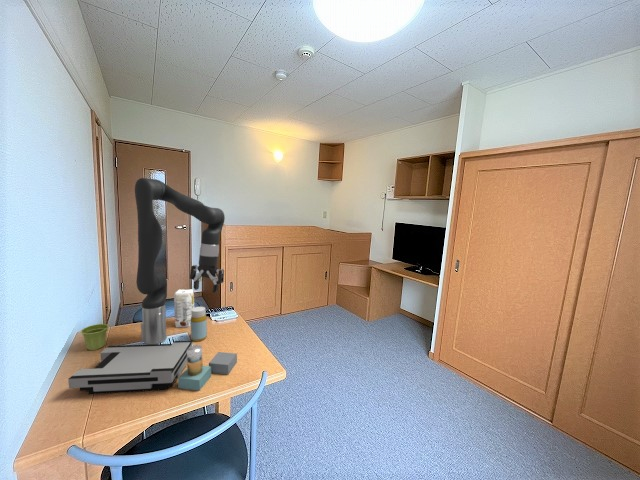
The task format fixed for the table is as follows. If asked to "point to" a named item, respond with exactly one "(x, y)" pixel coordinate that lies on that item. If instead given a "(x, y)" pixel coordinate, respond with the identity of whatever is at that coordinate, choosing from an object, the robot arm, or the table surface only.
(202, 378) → the stand
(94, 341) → the plant pot
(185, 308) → the juice carton
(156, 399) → the table surface
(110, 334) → the table surface
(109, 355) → the office tray
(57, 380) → the table surface
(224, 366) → the stand
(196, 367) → the salt shaker
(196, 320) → the bottle
